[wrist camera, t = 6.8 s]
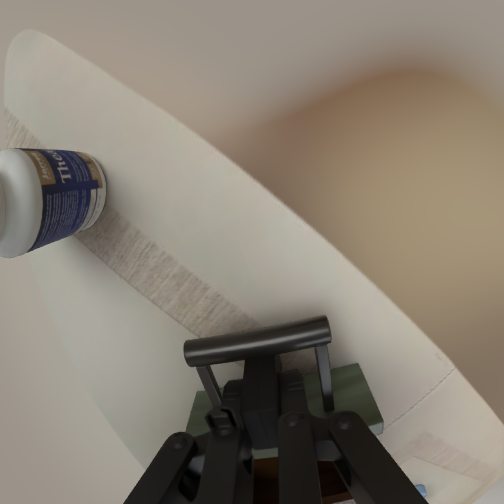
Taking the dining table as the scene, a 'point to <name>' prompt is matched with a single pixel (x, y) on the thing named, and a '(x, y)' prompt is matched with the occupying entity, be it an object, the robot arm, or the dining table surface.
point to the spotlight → (421, 490)
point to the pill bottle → (46, 197)
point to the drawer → (316, 386)
